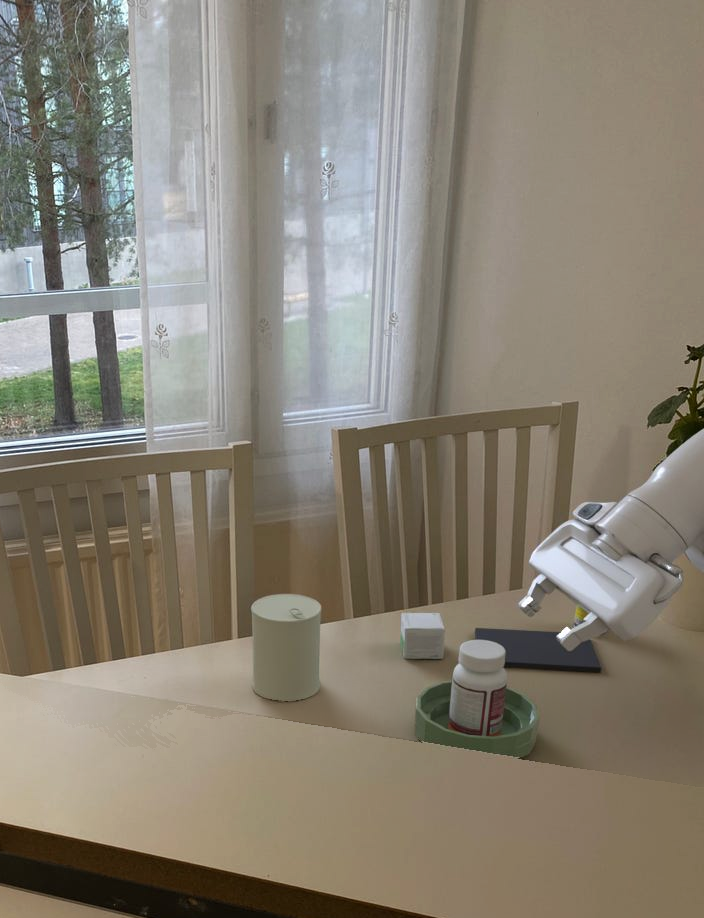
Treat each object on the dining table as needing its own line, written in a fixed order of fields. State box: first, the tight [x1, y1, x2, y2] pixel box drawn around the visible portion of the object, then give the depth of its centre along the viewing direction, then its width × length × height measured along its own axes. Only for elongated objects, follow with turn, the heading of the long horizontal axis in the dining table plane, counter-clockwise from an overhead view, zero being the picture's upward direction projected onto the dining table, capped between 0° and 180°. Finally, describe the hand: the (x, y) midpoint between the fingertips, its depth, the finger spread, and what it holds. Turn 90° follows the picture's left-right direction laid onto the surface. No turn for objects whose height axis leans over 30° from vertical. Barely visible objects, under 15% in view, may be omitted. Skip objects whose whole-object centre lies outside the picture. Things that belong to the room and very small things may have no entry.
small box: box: [399, 612, 446, 660], centre depth 130 cm, size 6×6×5 cm
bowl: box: [414, 680, 540, 758], centre depth 109 cm, size 14×14×4 cm
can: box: [250, 593, 323, 702], centre depth 120 cm, size 9×9×12 cm
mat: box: [474, 627, 603, 673], centre depth 130 cm, size 16×11×1 cm
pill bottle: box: [449, 639, 508, 736], centre depth 107 cm, size 6×6×11 cm
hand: (541, 627), depth 105 cm, fingers open, 8 cm apart
